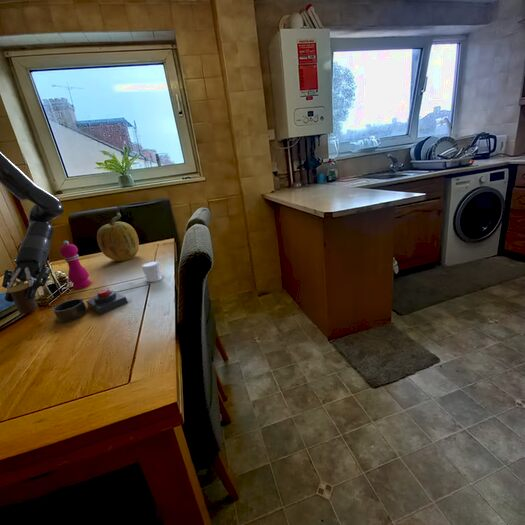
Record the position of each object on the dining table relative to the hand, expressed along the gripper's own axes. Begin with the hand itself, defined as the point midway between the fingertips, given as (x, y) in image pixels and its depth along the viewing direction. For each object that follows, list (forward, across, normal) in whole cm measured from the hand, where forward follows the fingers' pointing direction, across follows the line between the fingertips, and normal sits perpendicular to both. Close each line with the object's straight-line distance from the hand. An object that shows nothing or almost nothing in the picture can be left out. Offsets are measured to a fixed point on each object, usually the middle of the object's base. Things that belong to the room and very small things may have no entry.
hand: (18, 300), depth 85 cm
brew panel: (-1, +19, +15) cm, 24 cm away
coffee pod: (+2, 0, +4) cm, 5 cm away
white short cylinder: (-15, +28, +29) cm, 43 cm away
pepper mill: (-15, -4, +30) cm, 34 cm away
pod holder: (+3, +10, +11) cm, 15 cm away
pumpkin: (-39, -2, +53) cm, 66 cm away
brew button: (-4, +19, +12) cm, 23 cm away
